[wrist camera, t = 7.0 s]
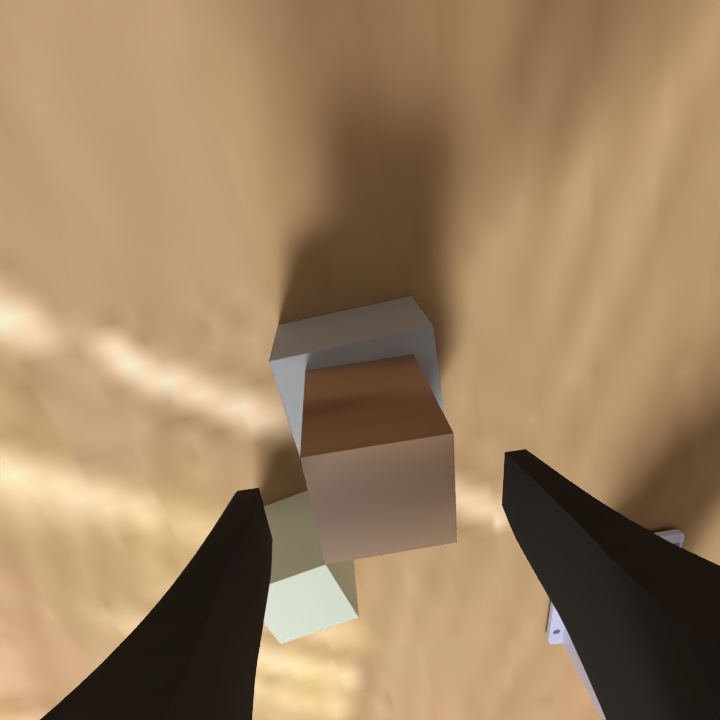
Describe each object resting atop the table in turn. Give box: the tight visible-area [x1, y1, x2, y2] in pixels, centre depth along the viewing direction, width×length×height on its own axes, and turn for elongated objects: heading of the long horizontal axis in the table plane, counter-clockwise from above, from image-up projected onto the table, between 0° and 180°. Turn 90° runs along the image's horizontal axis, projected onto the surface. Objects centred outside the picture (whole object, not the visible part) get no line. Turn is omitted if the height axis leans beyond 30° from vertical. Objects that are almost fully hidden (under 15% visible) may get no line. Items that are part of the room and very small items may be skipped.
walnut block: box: [300, 354, 457, 564], centre depth 14 cm, size 4×4×5 cm
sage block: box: [264, 490, 359, 644], centre depth 21 cm, size 4×4×5 cm
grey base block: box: [269, 296, 444, 456], centre depth 18 cm, size 6×6×4 cm
